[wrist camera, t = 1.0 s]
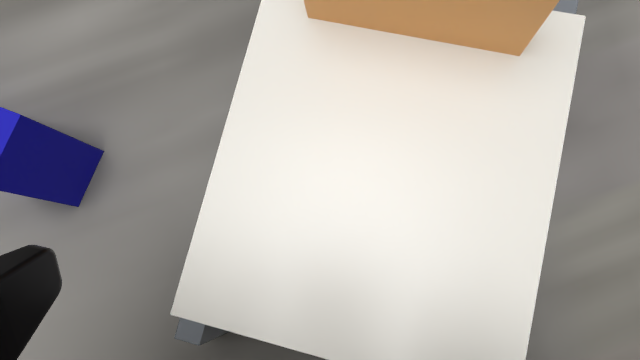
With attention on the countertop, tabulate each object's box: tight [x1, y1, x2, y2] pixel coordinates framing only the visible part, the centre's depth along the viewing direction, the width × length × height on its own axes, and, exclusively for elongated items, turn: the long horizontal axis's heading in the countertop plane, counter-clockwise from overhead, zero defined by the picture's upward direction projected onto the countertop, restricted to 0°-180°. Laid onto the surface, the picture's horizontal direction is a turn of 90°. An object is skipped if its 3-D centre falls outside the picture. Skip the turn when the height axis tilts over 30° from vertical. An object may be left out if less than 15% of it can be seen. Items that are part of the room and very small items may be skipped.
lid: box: [170, 0, 586, 360], centre depth 13 cm, size 14×12×10 cm
